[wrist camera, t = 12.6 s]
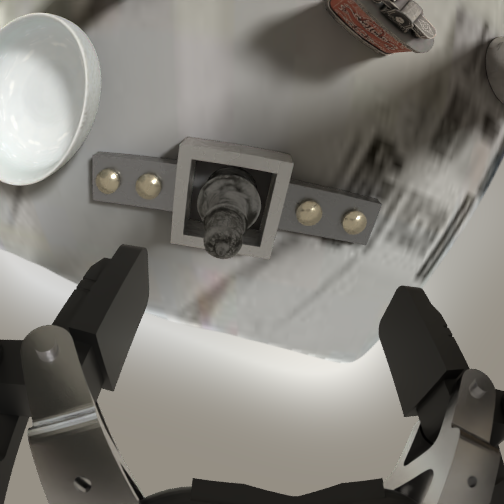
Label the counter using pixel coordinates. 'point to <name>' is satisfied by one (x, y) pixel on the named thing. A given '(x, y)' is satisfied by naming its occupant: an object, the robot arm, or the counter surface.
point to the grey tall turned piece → (227, 210)
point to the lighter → (385, 24)
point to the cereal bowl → (44, 95)
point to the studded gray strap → (279, 164)
